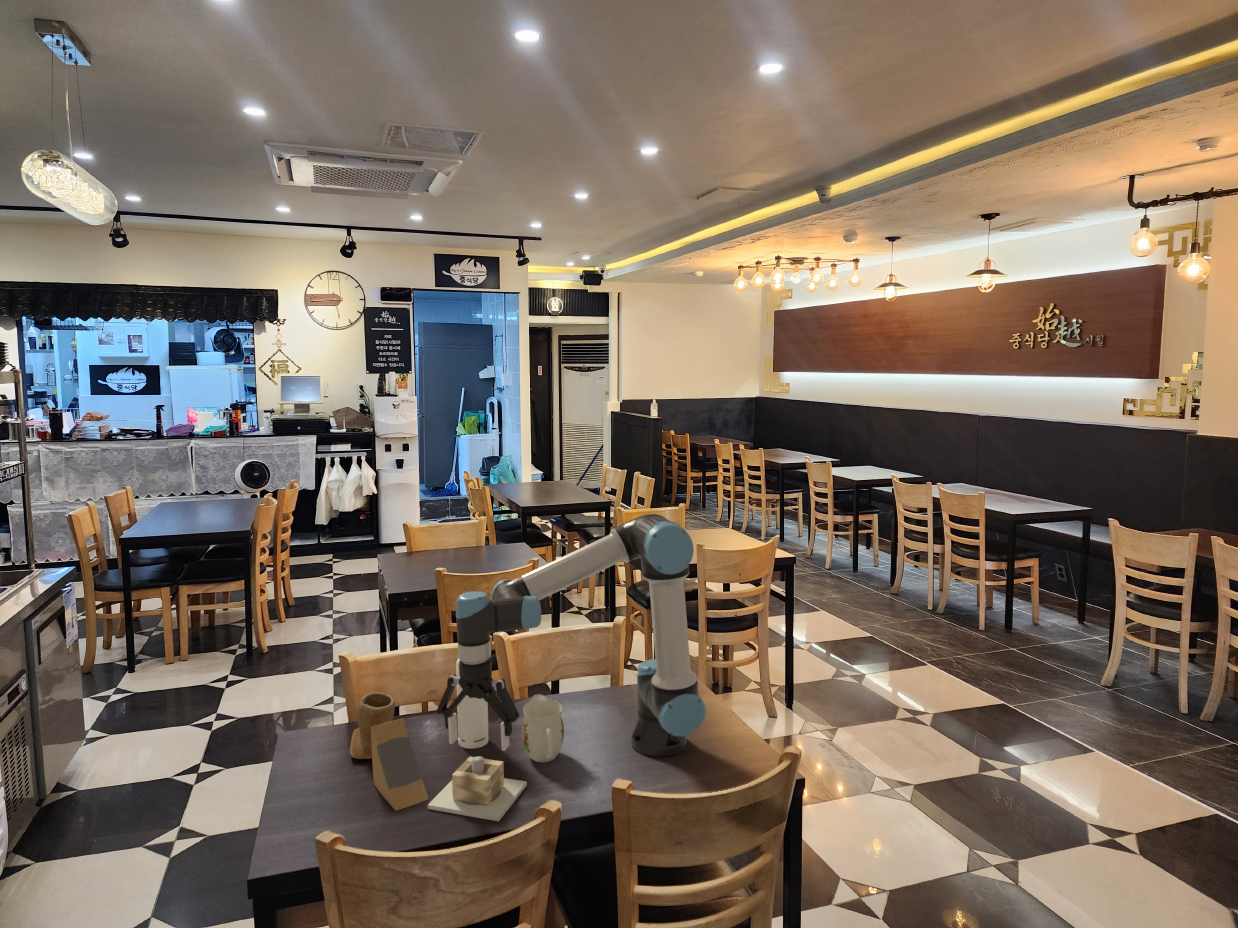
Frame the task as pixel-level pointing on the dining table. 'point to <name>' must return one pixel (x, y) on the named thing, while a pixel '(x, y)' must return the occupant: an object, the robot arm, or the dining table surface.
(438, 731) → the dining table surface
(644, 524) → the robot arm
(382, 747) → the sandwich container
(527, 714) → the pitcher
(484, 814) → the post stand
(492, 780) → the collar
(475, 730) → the bottle
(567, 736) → the dining table surface
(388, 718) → the tan boot
